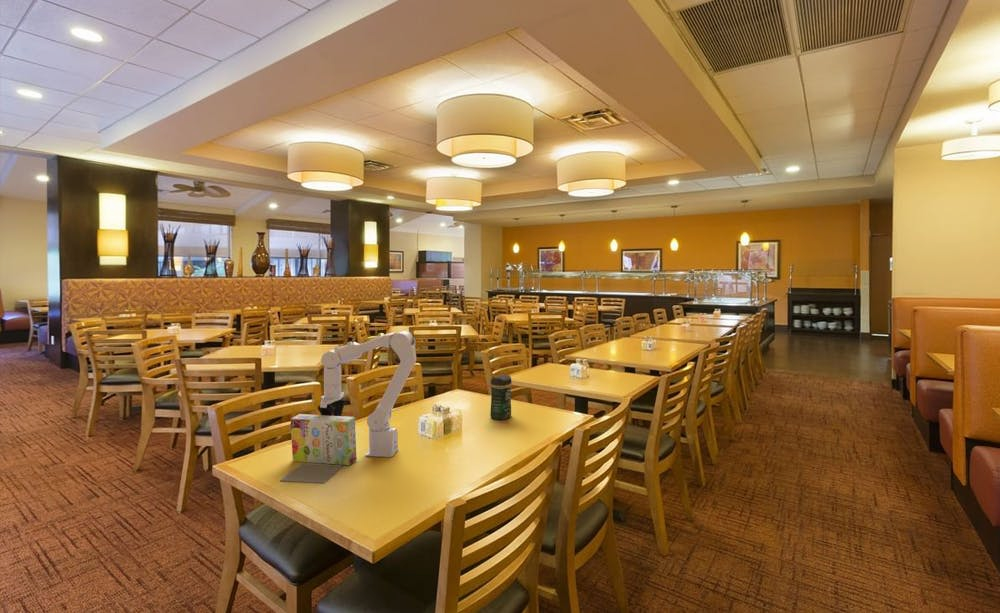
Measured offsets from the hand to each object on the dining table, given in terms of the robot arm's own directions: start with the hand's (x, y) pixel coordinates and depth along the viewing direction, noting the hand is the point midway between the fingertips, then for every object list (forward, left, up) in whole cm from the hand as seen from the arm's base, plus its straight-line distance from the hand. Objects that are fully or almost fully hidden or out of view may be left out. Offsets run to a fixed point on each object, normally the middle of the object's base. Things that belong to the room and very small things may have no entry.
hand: (332, 422), depth 170 cm
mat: (-1, +18, -11) cm, 21 cm away
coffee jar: (-54, -49, -11) cm, 74 cm away
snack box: (0, +7, -11) cm, 13 cm away
